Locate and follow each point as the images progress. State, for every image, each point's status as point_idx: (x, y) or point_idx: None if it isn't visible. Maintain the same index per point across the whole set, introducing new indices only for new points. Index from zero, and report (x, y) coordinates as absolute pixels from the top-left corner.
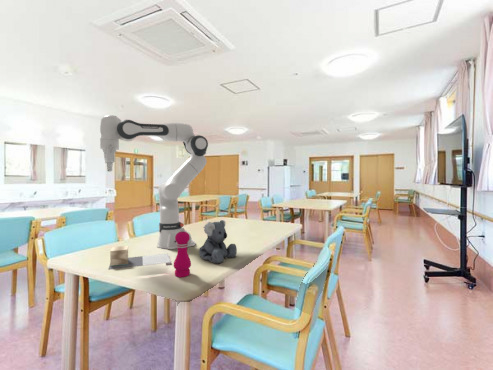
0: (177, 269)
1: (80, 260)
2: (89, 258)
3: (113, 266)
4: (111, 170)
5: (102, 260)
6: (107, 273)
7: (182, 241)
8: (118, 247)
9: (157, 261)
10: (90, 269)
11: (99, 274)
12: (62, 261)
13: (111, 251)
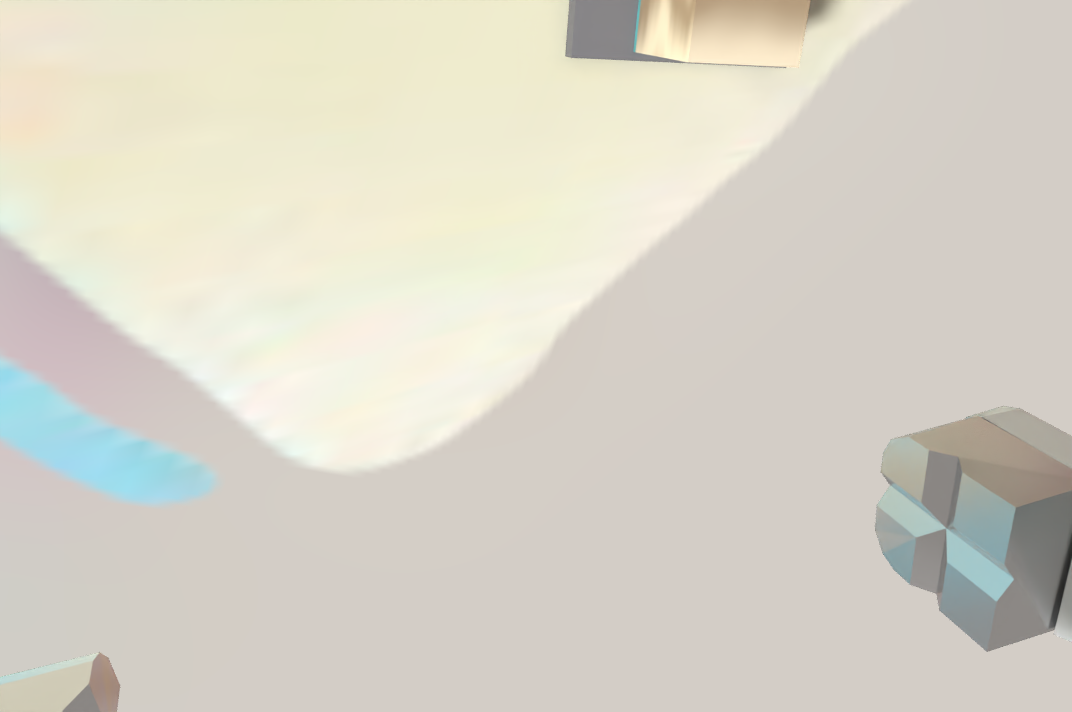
0: None
1: (441, 286)
2: (411, 233)
3: None
4: (1012, 432)
5: (508, 128)
6: (800, 68)
7: None
8: (724, 5)
9: None
10: (677, 181)
11: (792, 114)
12: (418, 397)
13: (797, 58)
